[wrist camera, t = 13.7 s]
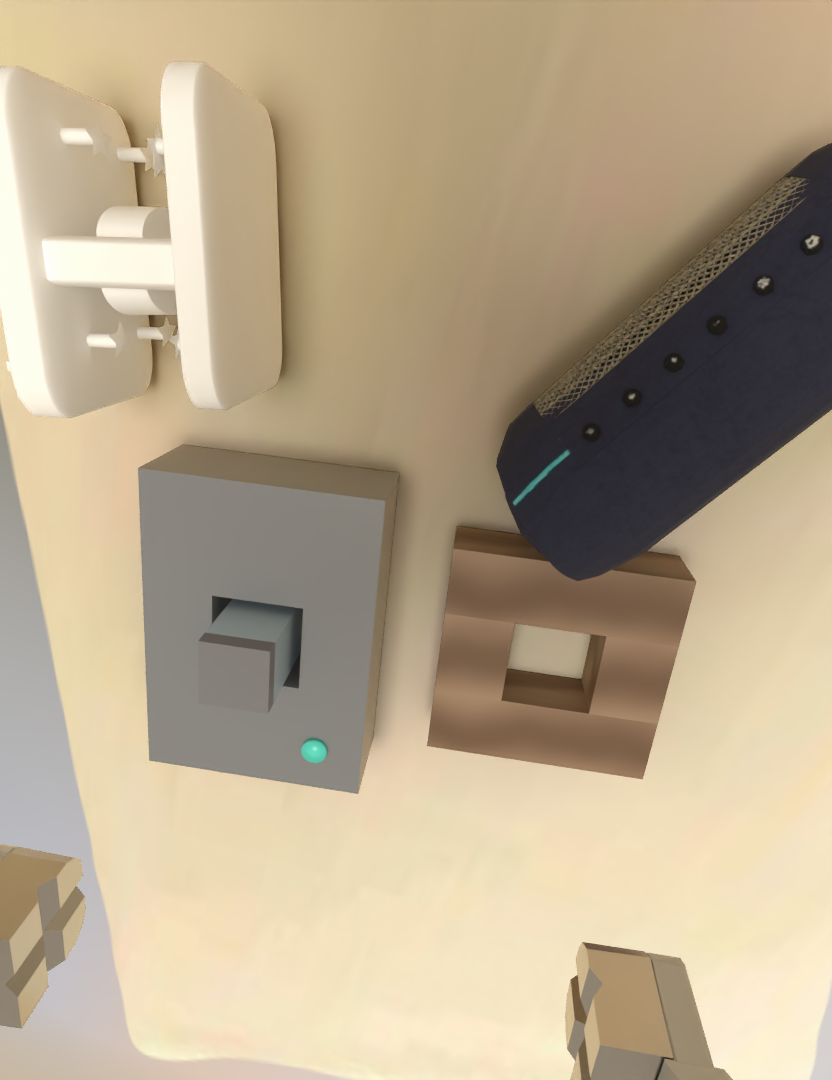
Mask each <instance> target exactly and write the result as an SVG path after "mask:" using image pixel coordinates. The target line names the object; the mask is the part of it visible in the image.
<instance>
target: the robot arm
mask: <svg viewBox="0 0 832 1080" xmlns="http://www.w3.org/2000/svg"><path fill="white" fill-rule="evenodd" d="M82 876H83V872H82V865H81V860H79V859H76V858H72V857H67V856H62V855H57V854H52V853H47V852H42V851H37V850H31V849H27V848H22V847H15V846H10V845H4V844H0V1025H2V1026H9V1027H15V1028H22V1027H23V1026H24V1024H25V1023H26V1021H27V1020H28V1018H29V1016H30V1015H31V1013H32V1012H33V1010H34V1009H35V1007H36V1005H37V1004H38V1002H39V1001H40V999H41V998H42V996H43V994H44V993H45V991H46V990H47V988H48V974H47V971H49V970H51V969H52V968H54V967H55V966H57V965H58V964H60V963H61V962H63V961H64V960H66V958H67V956H68V955H69V953H70V951H71V950H72V948H73V946H74V945H75V943H76V941H77V938H78V935H79V933H80V930H81V928H82V925H83V922H84V915H85V909H86V906H85V896H84V895H83V894H82V893H81V891H80V890H79V889H78V887H76V885H77V884H78V882H79V881H80V879H81V877H82ZM576 964H577V973H578V975H577V976H575V977H574V978H572V979H571V980H570V985H569V989H568V994H567V1003H566V1014H565V1018H566V1040H567V1049H568V1051H569V1052H570V1054H571V1055H572V1057H573V1058H574V1060H575V1064H574V1068H573V1072H572V1076H571V1080H733V1079H732V1078H731V1077H730V1076H729V1075H728V1073H727V1072H726V1071H725V1070H724V1069H719V1068H715V1067H714V1066H713V1062H712V1059H711V1055H710V1052H709V1048H708V1045H707V1041H706V1038H705V1034H704V1031H703V1027H702V1024H701V1020H700V1017H699V1013H698V1010H697V1006H696V1003H695V999H694V996H693V992H692V989H691V985H690V981H689V978H688V974H687V971H686V967H685V964H684V963H683V962H682V960H681V959H680V958H676V957H670V956H664V955H658V954H652V953H645V952H643V951H637V950H630V949H624V948H617V947H611V946H604V945H598V944H591V943H585V942H582V944H581V945H580V947H579V950H578V953H577V957H576Z"/></svg>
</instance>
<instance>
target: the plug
mask: <svg viewBox="0 0 832 1080" xmlns="http://www.w3.org/2000/svg"><path fill="white" fill-rule="evenodd" d="M302 619H303V609H302V608H295V607H288V606H281V605H274V604H267V603H260V602H253V601H246V600H239V599H232V600H231V602H230V603H229V604H228V605H227V606H226V608H225V609H224V610H223V611H222V613H221V614H220V615H219V616H218V617H217V619H216V620H215V621H214V622H213V623H212V625H211V626H210V627H209V628H208V630H207V631H206V632H205V633H204V634H203V636H202V637H201V638H200V639H199V640H198V701H199V704H205V705H212V706H218V707H225V708H231V709H238V710H244V711H251V712H258V713H264V714H268V713H269V711H270V709H271V707H272V705H273V703H274V702H275V700H276V698H277V696H278V694H279V692H280V690H281V688H282V686H283V684H284V682H285V681H286V679H287V677H288V675H289V673H290V671H291V669H292V667H293V665H294V663H295V661H296V660H297V658H298V656H299V654H300V652H301V639H302Z"/></svg>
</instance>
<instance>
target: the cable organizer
mask: <svg viewBox="0 0 832 1080" xmlns="http://www.w3.org/2000/svg"><path fill="white" fill-rule="evenodd" d="M160 110H161V125H162V137H163V138H162V137H161V134H160V130H159V126H158V122H157V126H156V133H155V139H147V142H148V144H147V148H141V147H139V148H131V144H130V140H129V137H128V133H127V130H126V128H125V125H124V123H123V121H122V119H121V117H120V116H119V114H118V112H117V111H116V110H115V109H113V108H112V107H110V106H108V105H106V104H103V103H101V102H99V101H97V100H95V99H92V98H90V97H88V96H86V95H83V94H81V93H79V92H77V91H74V90H72V89H70V88H68V87H66V86H63V85H61V84H59V83H57V82H54V81H52V80H50V79H48V78H45V77H43V76H41V75H39V74H36V73H34V72H32V71H30V70H28V69H25V68H23V67H19V66H0V309H1V313H0V315H2V321H3V327H4V333H5V339H6V345H7V351H8V357H9V361H6V363H7V368H8V371H9V372H11V374H12V379H13V382H14V385H15V389H16V391H17V396H18V398H19V399H20V400H21V401H22V403H23V405H24V406H25V407H26V408H27V410H28V411H29V412H31V413H32V414H34V415H36V416H39V417H54V418H73V417H76V416H79V415H82V414H85V413H88V412H91V411H94V410H97V409H100V408H103V407H106V406H109V405H113V404H116V403H119V402H122V401H125V400H128V399H131V398H134V397H137V396H140V395H142V394H144V393H145V392H146V390H147V388H148V386H149V383H150V379H151V374H152V346H151V339H157V340H163V346H164V345H165V344H166V343H167V342H168V341H169V342H171V343H173V344H174V345H175V359H176V358H177V357H178V355H179V354H180V355H181V366H182V373H183V379H184V383H185V387H186V390H187V393H188V396H189V398H190V400H191V401H192V403H193V404H194V405H195V406H196V407H197V408H200V409H218V410H227V409H230V408H232V407H234V406H236V405H238V404H240V403H242V402H244V401H246V400H248V399H250V398H252V397H254V396H256V395H258V394H260V393H262V392H264V391H267V390H269V389H271V388H273V387H274V386H275V385H276V384H277V382H278V379H279V375H280V370H281V363H282V324H281V294H280V264H279V234H278V204H277V174H276V152H275V142H274V135H273V130H272V125H271V121H270V118H269V115H268V112H267V110H266V109H265V107H264V106H263V105H262V104H260V103H259V102H258V101H256V100H255V99H254V98H252V97H251V96H250V95H248V94H247V93H246V92H244V91H243V90H242V89H240V88H239V87H238V86H236V85H235V84H234V83H232V82H231V81H230V80H228V79H227V78H226V77H224V76H223V75H222V74H220V73H219V72H218V71H216V70H215V69H214V68H212V67H211V66H210V65H208V64H207V63H205V62H171V63H169V64H168V65H167V67H166V69H165V71H164V75H163V79H162V84H161V96H160ZM134 162H145V172H146V171H147V170H149V169H150V168H152V169H153V170H154V178H155V176H156V175H157V174H158V173H159V172H160V171H161V170H162V172H163V173H164V175H165V176H166V186H167V198H168V208H166V207H139V206H138V201H137V191H136V181H135V170H134ZM158 176H159V174H158ZM174 314H177V318H178V330H177V335H175V336H173V332H174V330H175V328H176V326H175V325H170V324H169V321H168V319H167V316H166V318H165V323H164V326H162V327H150V325H149V315H174Z"/></svg>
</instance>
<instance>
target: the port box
mask: <svg viewBox="0 0 832 1080" xmlns="http://www.w3.org/2000/svg"><path fill="white" fill-rule="evenodd" d="M138 476H139V502H140V528H141V554H142V580H143V606H144V632H145V658H146V684H147V711H148V737H149V760H150V761H156V762H162V763H168V764H175V765H181V766H187V767H193V768H200V769H206V770H212V771H218V772H225V773H231V774H237V775H244V776H250V777H256V778H262V779H269V780H275V781H281V782H287V783H294V784H300V785H306V786H312V787H319V788H325V789H331V790H337V791H344V792H350V793H356V794H358V792H359V789H360V785H361V781H362V777H363V774H364V770H365V766H366V762H367V759H368V755H369V751H370V747H371V744H372V740H373V734H374V724H375V714H376V704H377V694H378V684H379V674H380V663H381V653H382V643H383V633H384V623H385V613H386V603H387V593H388V583H389V573H390V563H391V553H392V543H393V533H394V523H395V513H396V503H397V493H398V482H399V473H398V472H390V471H382V470H375V469H367V468H359V467H352V466H344V465H336V464H329V463H321V462H313V461H306V460H298V459H290V458H283V457H275V456H267V455H260V454H252V453H244V452H237V451H229V450H221V449H213V448H206V447H198V446H190V445H181V446H179V447H177V448H175V449H173V450H171V451H170V452H168V453H166V454H164V455H162V456H160V457H158V458H156V459H154V460H153V461H151V462H149V463H147V464H145V465H143V466H141V467H139V468H138ZM232 599H239V600H246V601H253V602H260V603H267V604H274V605H281V606H288V607H295V608H302V609H303V619H302V639H301V652H300V654H299V656H298V658H297V660H296V661H295V663H294V665H293V667H292V669H291V671H290V673H289V675H288V677H287V679H286V681H285V682H284V684H283V686H282V688H281V690H280V692H279V694H278V696H277V698H276V700H275V702H274V703H273V705H272V707H271V709H270V711H269V713H268V714H264V713H258V712H251V711H244V710H238V709H231V708H225V707H218V706H212V705H205V704H199V701H198V640H199V639H200V638H201V637H202V636H203V634H204V633H205V632H206V631H207V630H208V628H209V627H210V626H211V625H212V623H213V622H214V621H215V620H216V619H217V617H218V616H219V615H220V614H221V613H222V611H223V610H224V609H225V608H226V606H227V605H228V604H229V603H230V602H231V600H232Z"/></svg>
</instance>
